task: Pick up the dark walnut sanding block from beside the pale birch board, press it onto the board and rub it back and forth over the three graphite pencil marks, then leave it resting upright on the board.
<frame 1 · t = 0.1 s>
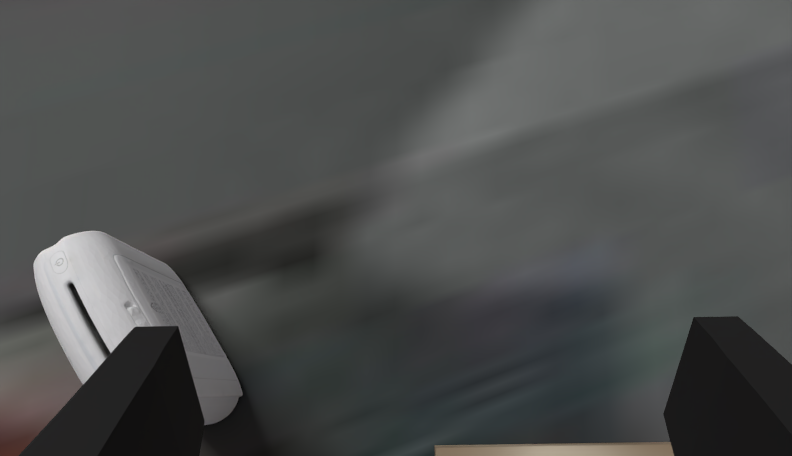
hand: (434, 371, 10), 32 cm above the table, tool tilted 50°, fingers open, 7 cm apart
photo printer: (182, 344, 42), on the table
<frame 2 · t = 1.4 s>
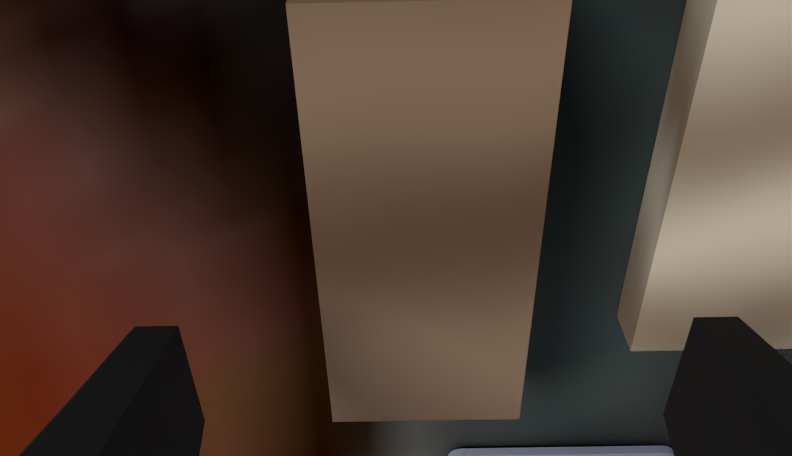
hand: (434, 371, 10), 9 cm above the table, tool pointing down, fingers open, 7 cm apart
sanding block: (417, 105, 17), on the table
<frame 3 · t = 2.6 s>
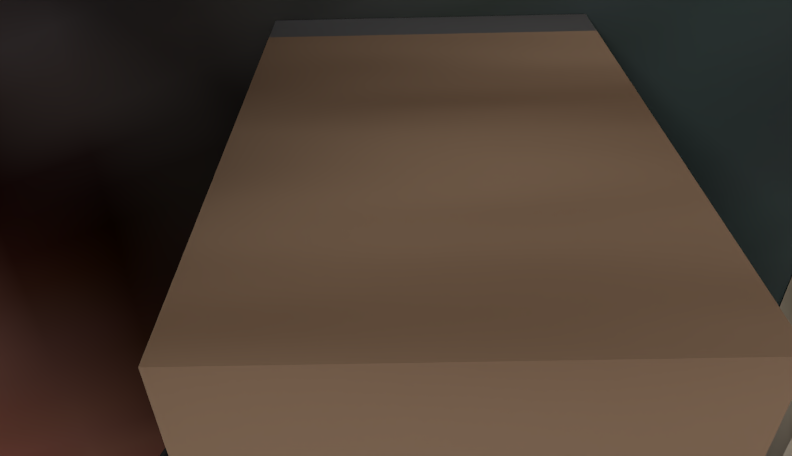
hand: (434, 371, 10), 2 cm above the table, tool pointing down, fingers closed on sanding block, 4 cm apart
sanding block: (427, 283, 12), on the table, touching gripper
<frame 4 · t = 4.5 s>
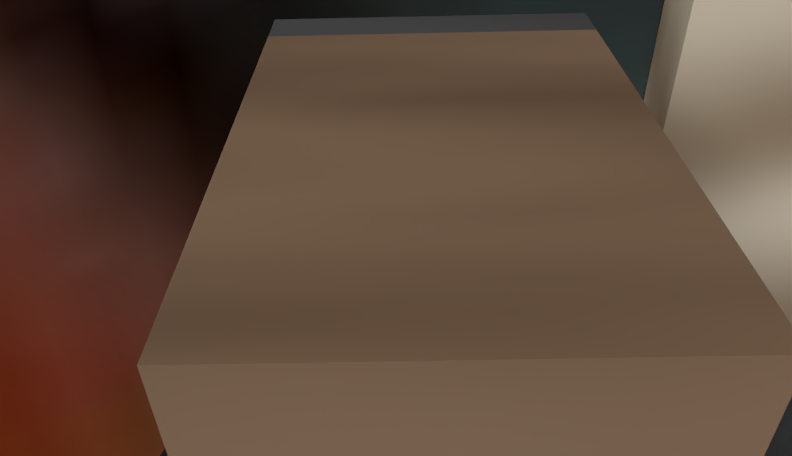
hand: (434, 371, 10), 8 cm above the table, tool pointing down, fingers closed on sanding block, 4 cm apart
sanding block: (427, 282, 12), point 6 cm above the table, touching gripper
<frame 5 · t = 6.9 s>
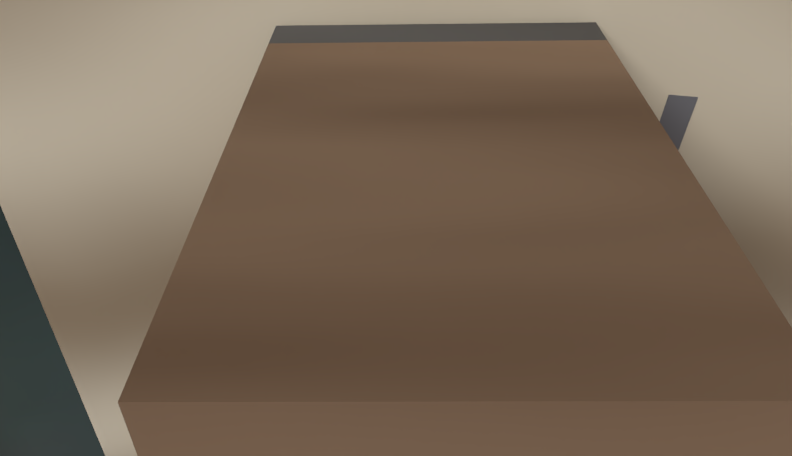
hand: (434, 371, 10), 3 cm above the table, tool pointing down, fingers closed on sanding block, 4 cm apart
board: (594, 237, 13), on the table
sanding block: (430, 295, 11), point 2 cm above the table, touching gripper
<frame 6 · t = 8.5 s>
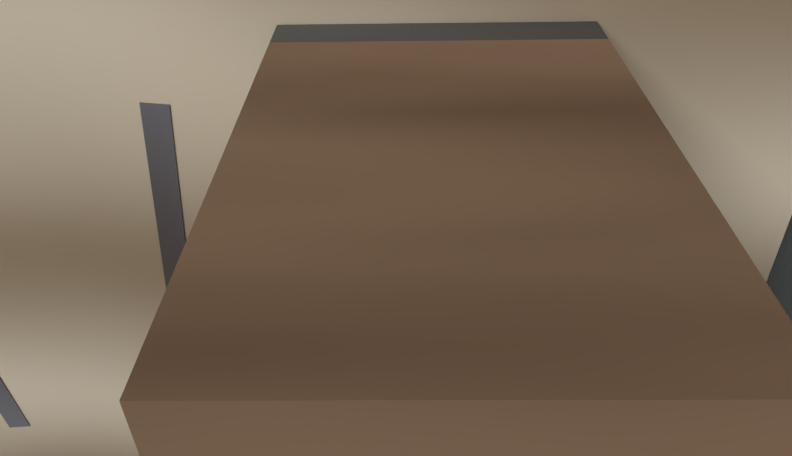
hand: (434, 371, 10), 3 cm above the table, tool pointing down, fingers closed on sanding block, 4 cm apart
board: (203, 242, 13), on the table
sanding block: (430, 294, 11), point 2 cm above the table, touching gripper
when the fingers open (3 cm above the table, at t = 13.1 s): sanding block stays where it is, resting on board.
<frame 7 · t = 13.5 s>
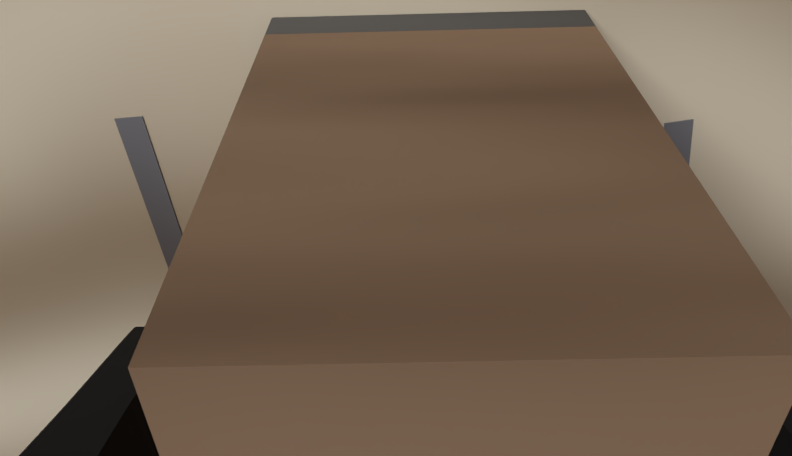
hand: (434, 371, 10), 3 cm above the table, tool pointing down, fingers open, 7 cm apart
board: (424, 232, 13), on the table
sanding block: (427, 282, 12), point 2 cm above the table, touching board
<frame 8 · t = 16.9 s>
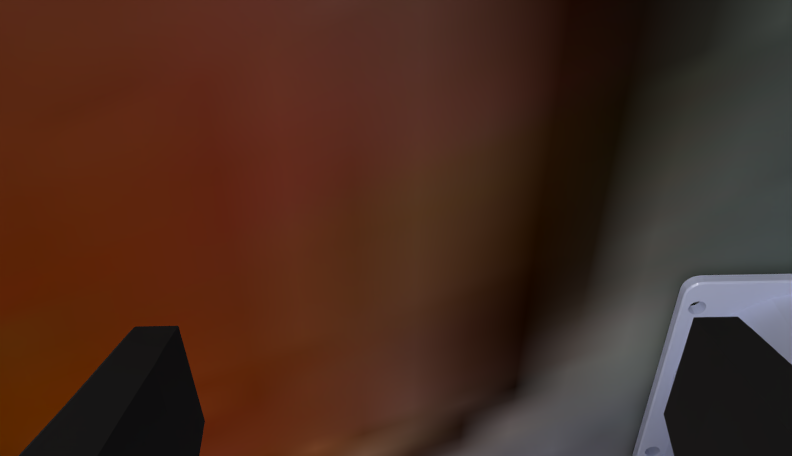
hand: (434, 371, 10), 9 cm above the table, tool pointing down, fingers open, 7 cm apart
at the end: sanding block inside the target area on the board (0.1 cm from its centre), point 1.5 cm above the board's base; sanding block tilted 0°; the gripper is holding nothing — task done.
